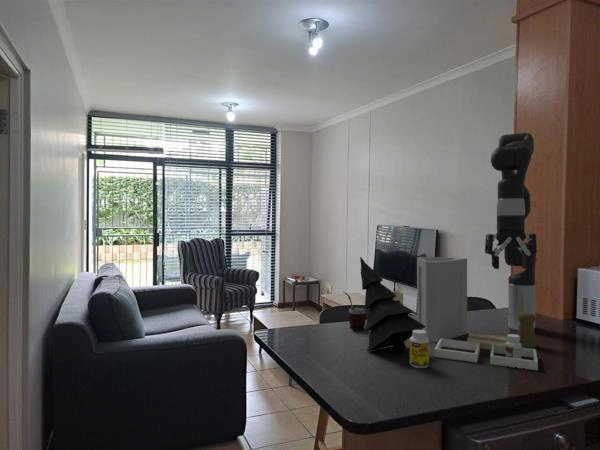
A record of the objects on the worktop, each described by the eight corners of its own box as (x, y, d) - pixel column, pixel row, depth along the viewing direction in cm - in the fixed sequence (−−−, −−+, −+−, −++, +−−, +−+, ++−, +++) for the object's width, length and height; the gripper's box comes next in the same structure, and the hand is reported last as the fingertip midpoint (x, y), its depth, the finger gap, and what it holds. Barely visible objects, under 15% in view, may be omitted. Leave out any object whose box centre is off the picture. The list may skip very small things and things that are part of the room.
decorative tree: (404, 355, 147) (365, 266, 163) (432, 339, 136) (387, 245, 153) (371, 363, 139) (333, 269, 156) (398, 347, 129) (354, 247, 145)
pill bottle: (502, 358, 133) (502, 333, 133) (516, 358, 134) (516, 333, 133) (510, 363, 129) (510, 337, 129) (524, 363, 129) (524, 337, 129)
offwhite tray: (440, 345, 147) (440, 338, 147) (479, 350, 141) (479, 342, 141) (434, 356, 135) (434, 348, 135) (477, 362, 130) (477, 354, 130)
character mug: (393, 329, 168) (393, 295, 168) (378, 325, 173) (378, 293, 173) (409, 324, 175) (409, 292, 175) (395, 320, 181) (394, 290, 180)
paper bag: (434, 325, 173) (434, 255, 172) (468, 333, 161) (468, 258, 161) (403, 333, 162) (402, 259, 161) (437, 342, 150) (436, 262, 149)
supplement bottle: (409, 367, 126) (409, 333, 126) (410, 361, 131) (410, 328, 131) (429, 369, 124) (429, 334, 124) (429, 363, 130) (429, 329, 129)
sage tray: (491, 351, 140) (491, 344, 140) (535, 357, 134) (535, 349, 134) (490, 364, 128) (490, 355, 128) (537, 370, 123) (537, 361, 123)
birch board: (469, 337, 155) (469, 332, 155) (506, 341, 150) (506, 336, 150) (466, 347, 145) (466, 341, 145) (506, 352, 139) (506, 345, 139)
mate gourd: (369, 327, 170) (368, 290, 170) (360, 332, 164) (360, 293, 163) (351, 325, 174) (351, 288, 174) (343, 330, 168) (342, 291, 167)
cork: (539, 348, 143) (539, 315, 143) (519, 347, 144) (519, 314, 144) (533, 342, 149) (533, 311, 149) (514, 341, 150) (514, 310, 150)
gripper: (528, 213, 132) (528, 266, 133) (481, 214, 132) (481, 267, 133) (541, 213, 125) (541, 269, 125) (492, 214, 125) (492, 270, 125)
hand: (510, 268), depth 129 cm, fingers open, 8 cm apart
